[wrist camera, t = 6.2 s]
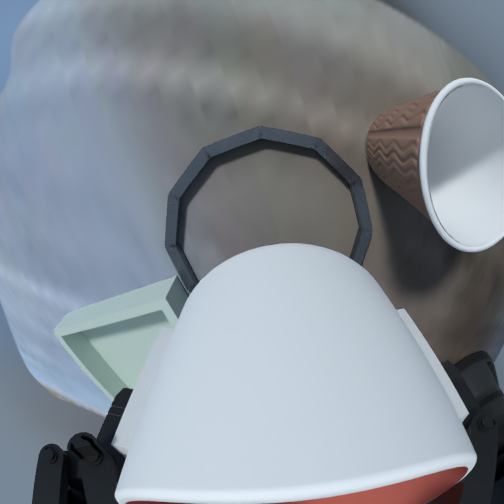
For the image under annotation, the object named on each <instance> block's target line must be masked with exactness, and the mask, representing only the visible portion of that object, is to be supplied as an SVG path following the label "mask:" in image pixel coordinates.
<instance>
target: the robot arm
mask: <svg viewBox="0 0 504 504" xmlns="http://www.w3.org/2000/svg"><path fill="white" fill-rule="evenodd" d="M396 311H397V312H398V314H399V315H400V317H401V318H402V320H403V321H404V323H405V324H406V326H407V327H408V329H409V330H410V332H411V334H412V335H413V337H414V338H415V340H416V342H417V343H418V345H419V346H420V348H421V350H422V351H423V353H424V355H425V356H426V358H427V360H428V361H429V363H430V365H431V366H432V368H433V370H434V372H435V373H436V375H437V377H438V379H439V380H440V382H441V384H442V386H443V388H444V389H445V391H446V393H447V395H448V397H449V399H450V400H451V402H452V404H453V406H454V408H455V410H456V412H457V414H458V416H459V418H460V420H461V422H462V424H463V426H464V428H465V430H466V432H467V435H468V437H469V439H470V441H471V443H472V446H473V448H474V450H475V452H476V455H477V461H476V463H475V466H474V467H473V469H472V470H471V471H470V472H469V473H468V474H467V475H466V476H465V477H464V478H463V479H462V480H461V481H459V482H458V483H457V484H455V485H454V486H453V487H451V488H450V489H448V490H447V491H446V492H444V493H443V494H441V495H440V496H438V497H437V498H435V499H433V500H432V501H430V502H428V503H426V504H504V394H503V392H502V391H501V389H500V387H499V383H498V378H497V374H496V370H495V366H494V363H493V360H492V359H491V357H490V356H489V355H488V353H487V352H484V351H480V352H476V353H474V354H471V355H469V356H468V357H466V358H464V359H463V360H461V361H460V362H458V363H457V364H456V365H453V364H452V363H450V362H449V361H446V362H443V363H440V362H439V360H438V359H437V357H436V355H435V354H434V352H433V351H432V349H431V348H430V346H429V344H428V343H427V341H426V340H425V338H424V337H423V335H422V334H421V332H420V331H419V329H418V328H417V326H416V325H415V324H414V322H413V321H412V319H411V318H410V316H409V315H408V313H407V312H406V311H405V309H399V310H396ZM174 329H175V328H161V330H160V332H159V334H158V336H157V338H156V340H155V342H154V345H153V347H152V349H151V351H150V353H149V355H148V358H147V360H146V362H145V364H144V367H143V369H142V371H141V373H140V376H139V378H138V380H137V382H136V385H135V387H134V389H130V388H123V389H122V390H121V391H120V392H119V393H118V394H117V395H116V396H115V398H114V401H113V403H112V407H110V409H109V412H108V415H107V416H106V418H105V421H104V423H103V425H102V427H101V430H100V432H99V434H98V437H97V439H96V438H95V437H94V436H93V435H92V434H89V433H87V432H85V433H84V432H83V433H78V434H75V435H74V436H73V437H72V438H71V439H70V441H69V442H68V446H67V450H68V451H63V450H62V449H61V448H60V447H59V446H58V445H56V444H48V445H46V446H44V447H43V448H42V449H41V451H40V453H39V458H38V463H37V469H36V475H35V482H34V490H33V499H32V504H119V503H118V502H117V500H116V498H115V491H116V488H117V484H118V481H119V478H120V475H121V472H122V469H123V466H124V463H125V460H126V457H127V454H128V451H129V448H130V445H131V442H132V439H133V436H134V433H135V430H136V428H137V425H138V422H139V419H140V416H141V414H142V411H143V408H144V405H145V403H146V400H147V397H148V395H149V392H150V389H151V387H152V384H153V381H154V379H155V376H156V374H157V371H158V369H159V366H160V363H161V361H162V358H163V356H164V353H165V351H166V348H167V346H168V343H169V341H170V338H171V336H172V334H173V331H174Z"/></svg>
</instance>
